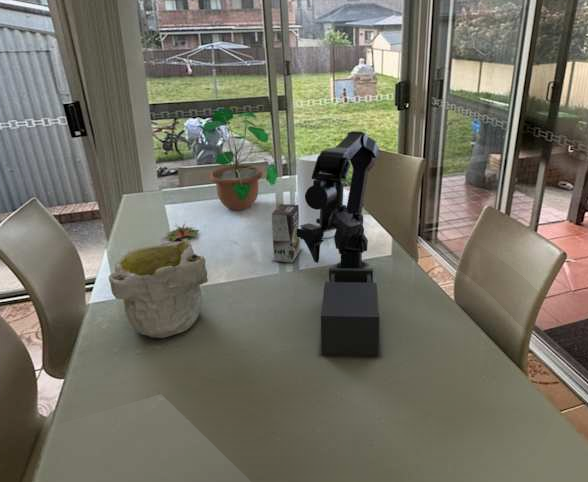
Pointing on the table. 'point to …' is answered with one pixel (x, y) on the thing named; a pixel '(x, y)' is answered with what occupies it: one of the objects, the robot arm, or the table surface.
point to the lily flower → (181, 233)
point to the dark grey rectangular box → (350, 319)
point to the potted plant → (237, 179)
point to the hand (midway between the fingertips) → (329, 258)
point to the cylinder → (303, 183)
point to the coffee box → (285, 232)
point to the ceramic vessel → (160, 287)
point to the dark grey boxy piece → (351, 275)
